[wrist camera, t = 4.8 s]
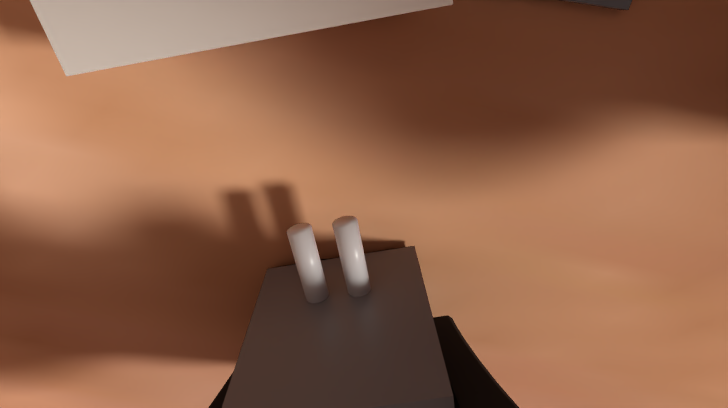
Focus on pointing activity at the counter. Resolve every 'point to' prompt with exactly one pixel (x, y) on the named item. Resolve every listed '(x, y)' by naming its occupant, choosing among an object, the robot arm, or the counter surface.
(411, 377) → the charger
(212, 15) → the power strip
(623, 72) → the counter surface
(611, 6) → the plate
